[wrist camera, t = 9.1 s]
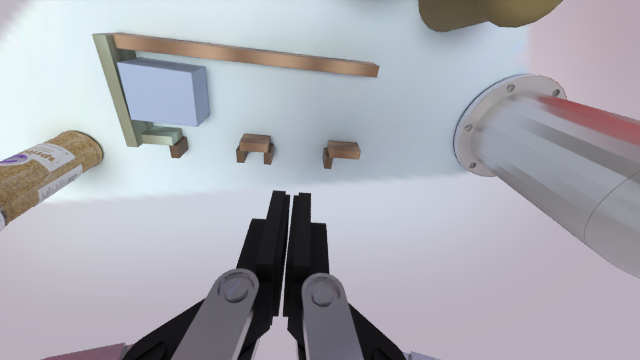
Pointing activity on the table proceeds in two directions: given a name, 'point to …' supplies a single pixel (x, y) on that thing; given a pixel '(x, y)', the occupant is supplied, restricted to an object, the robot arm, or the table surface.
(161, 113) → the block
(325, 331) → the robot arm
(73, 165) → the sprinkles bottle
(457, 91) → the table surface
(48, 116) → the table surface
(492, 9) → the cork
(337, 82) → the table surface
